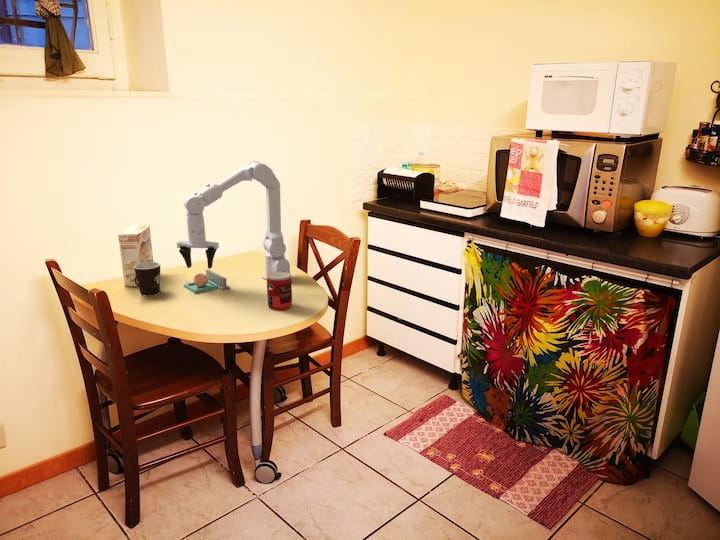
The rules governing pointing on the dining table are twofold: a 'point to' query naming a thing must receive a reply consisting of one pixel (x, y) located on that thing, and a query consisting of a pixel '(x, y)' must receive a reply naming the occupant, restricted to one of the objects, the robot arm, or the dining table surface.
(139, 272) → the coffee mug
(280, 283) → the canned food
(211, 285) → the coaster
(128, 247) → the coffeecake box
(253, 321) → the dining table surface
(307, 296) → the dining table surface
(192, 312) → the dining table surface
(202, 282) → the ball
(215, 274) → the wall
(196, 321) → the dining table surface
